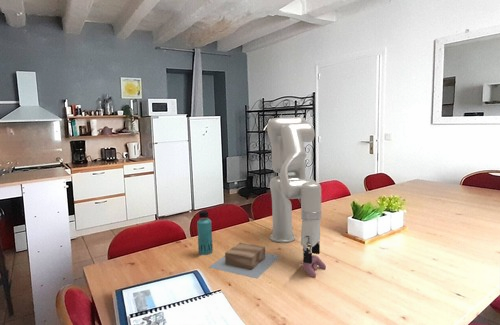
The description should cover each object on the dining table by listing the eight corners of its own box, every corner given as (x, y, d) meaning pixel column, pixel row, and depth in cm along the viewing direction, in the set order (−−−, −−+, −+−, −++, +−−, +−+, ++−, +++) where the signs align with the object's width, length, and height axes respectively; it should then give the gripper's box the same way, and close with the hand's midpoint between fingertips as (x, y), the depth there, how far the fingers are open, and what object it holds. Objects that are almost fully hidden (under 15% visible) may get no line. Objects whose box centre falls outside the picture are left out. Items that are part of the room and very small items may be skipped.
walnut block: (240, 253, 141) (240, 242, 141) (265, 258, 136) (264, 246, 135) (225, 264, 131) (225, 252, 130) (251, 270, 125) (251, 257, 125)
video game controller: (318, 270, 130) (311, 253, 131) (327, 267, 127) (320, 250, 129) (306, 279, 123) (298, 262, 124) (315, 277, 120) (308, 259, 121)
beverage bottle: (199, 259, 140) (196, 214, 138) (197, 253, 147) (195, 210, 144) (214, 257, 142) (212, 212, 140) (211, 251, 148) (209, 209, 146)
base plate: (236, 250, 148) (236, 247, 148) (281, 259, 138) (281, 255, 138) (208, 270, 129) (208, 267, 129) (257, 282, 119) (257, 278, 118)
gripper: (309, 208, 133) (309, 248, 135) (293, 219, 118) (294, 265, 120) (327, 210, 129) (327, 251, 131) (313, 222, 114) (314, 268, 116)
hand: (311, 258), depth 125 cm, fingers open, 9 cm apart
